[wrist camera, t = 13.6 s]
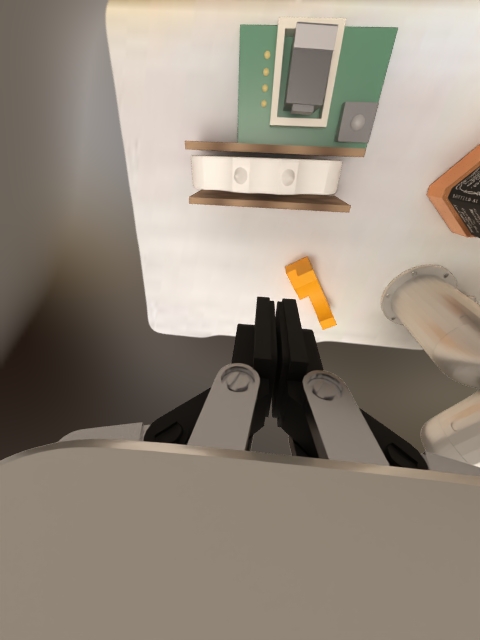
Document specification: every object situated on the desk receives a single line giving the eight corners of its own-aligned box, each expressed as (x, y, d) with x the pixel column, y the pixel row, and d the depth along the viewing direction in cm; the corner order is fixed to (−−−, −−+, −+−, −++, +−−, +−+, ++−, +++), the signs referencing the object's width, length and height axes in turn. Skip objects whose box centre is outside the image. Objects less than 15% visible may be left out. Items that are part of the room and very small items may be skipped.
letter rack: (345, 149, 36) (366, 148, 28) (333, 201, 39) (349, 212, 32) (201, 143, 37) (184, 140, 29) (203, 194, 40) (189, 203, 33)
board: (393, 31, 29) (408, 18, 26) (362, 149, 35) (371, 149, 32) (241, 28, 30) (238, 15, 27) (238, 144, 36) (235, 143, 33)
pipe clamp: (285, 266, 46) (287, 281, 41) (307, 255, 45) (312, 269, 40) (308, 314, 52) (313, 333, 46) (329, 306, 50) (336, 324, 45)
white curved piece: (206, 154, 37) (177, 155, 25) (326, 159, 36) (357, 161, 24) (207, 180, 39) (181, 192, 27) (321, 185, 38) (347, 199, 26)
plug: (324, 48, 29) (339, 23, 24) (311, 119, 33) (321, 112, 27) (291, 45, 30) (297, 20, 24) (281, 116, 33) (285, 109, 28)
